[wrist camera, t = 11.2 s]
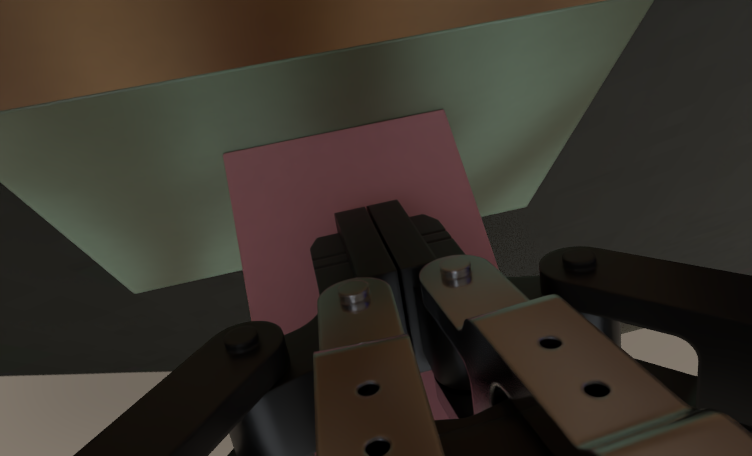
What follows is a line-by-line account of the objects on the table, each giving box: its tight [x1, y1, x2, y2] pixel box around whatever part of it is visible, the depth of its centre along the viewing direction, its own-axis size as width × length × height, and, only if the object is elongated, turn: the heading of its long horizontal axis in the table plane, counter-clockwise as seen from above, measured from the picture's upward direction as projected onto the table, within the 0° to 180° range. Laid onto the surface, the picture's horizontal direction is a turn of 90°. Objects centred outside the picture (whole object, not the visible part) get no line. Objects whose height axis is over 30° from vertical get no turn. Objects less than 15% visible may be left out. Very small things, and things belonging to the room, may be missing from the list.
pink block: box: [223, 109, 499, 456], centre depth 17 cm, size 6×6×8 cm
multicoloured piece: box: [0, 0, 654, 294], centre depth 13 cm, size 16×24×1 cm, turn 0°
